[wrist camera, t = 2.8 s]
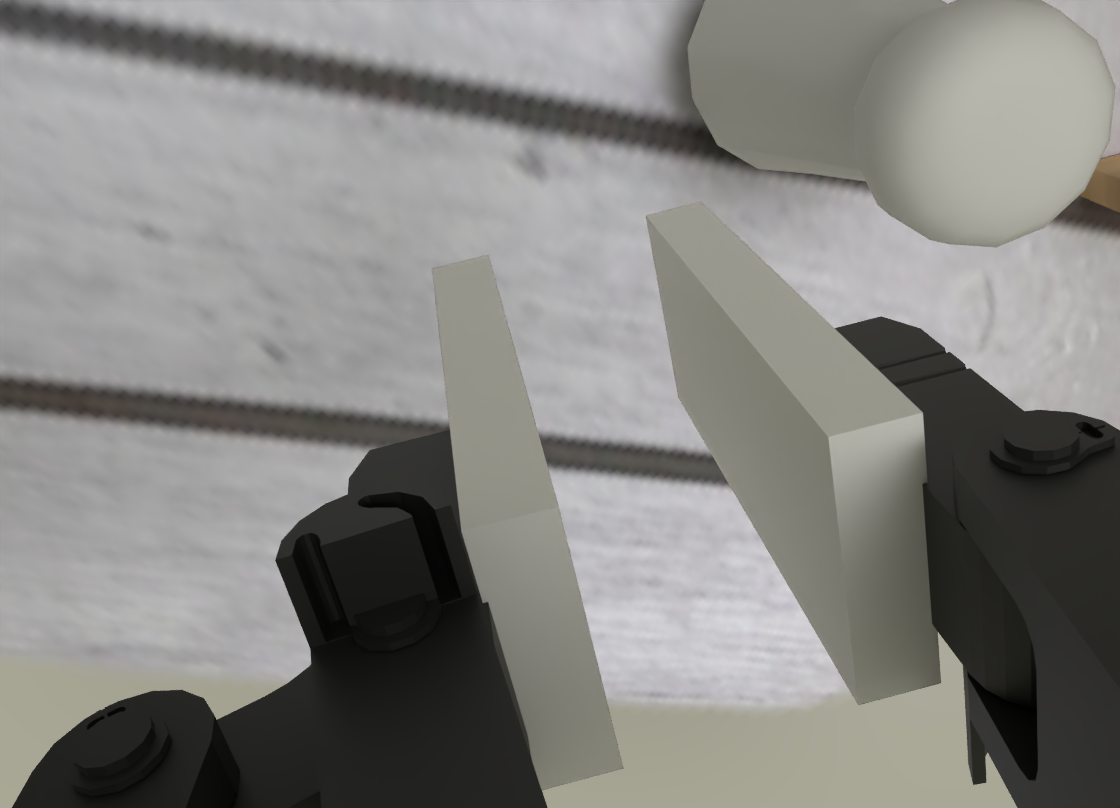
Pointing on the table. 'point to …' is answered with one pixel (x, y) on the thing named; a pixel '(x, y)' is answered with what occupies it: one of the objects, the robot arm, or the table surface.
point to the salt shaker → (912, 104)
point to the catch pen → (1105, 183)
